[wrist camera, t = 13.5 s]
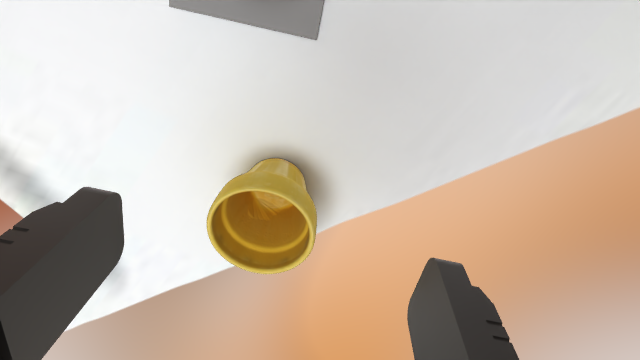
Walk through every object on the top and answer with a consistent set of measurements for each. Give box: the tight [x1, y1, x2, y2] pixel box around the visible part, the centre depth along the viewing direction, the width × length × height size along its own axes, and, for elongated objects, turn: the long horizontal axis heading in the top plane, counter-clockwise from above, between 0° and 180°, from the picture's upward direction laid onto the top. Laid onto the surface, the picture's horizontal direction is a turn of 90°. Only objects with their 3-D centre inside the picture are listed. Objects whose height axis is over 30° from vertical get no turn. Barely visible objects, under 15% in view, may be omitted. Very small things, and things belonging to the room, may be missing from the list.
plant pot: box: [207, 158, 317, 274], centre depth 39 cm, size 10×10×10 cm
